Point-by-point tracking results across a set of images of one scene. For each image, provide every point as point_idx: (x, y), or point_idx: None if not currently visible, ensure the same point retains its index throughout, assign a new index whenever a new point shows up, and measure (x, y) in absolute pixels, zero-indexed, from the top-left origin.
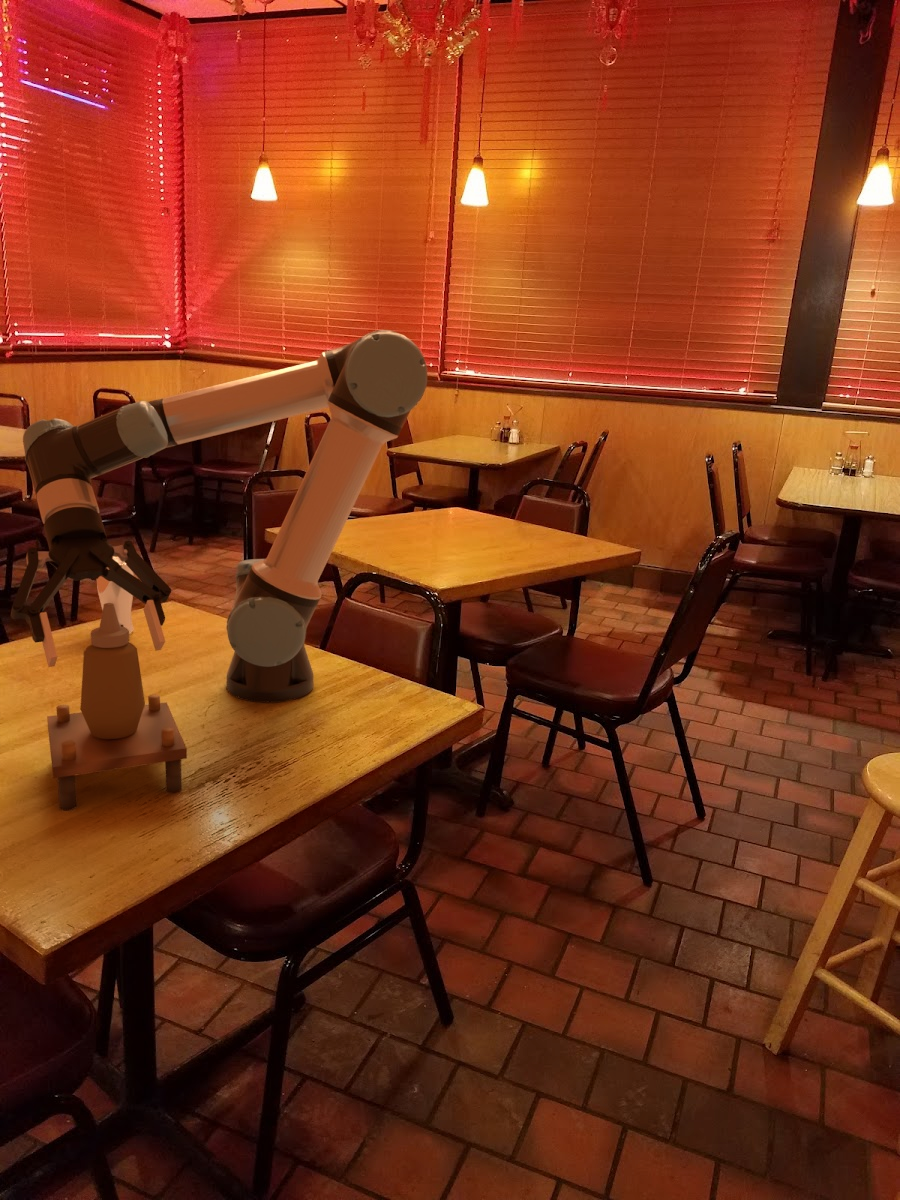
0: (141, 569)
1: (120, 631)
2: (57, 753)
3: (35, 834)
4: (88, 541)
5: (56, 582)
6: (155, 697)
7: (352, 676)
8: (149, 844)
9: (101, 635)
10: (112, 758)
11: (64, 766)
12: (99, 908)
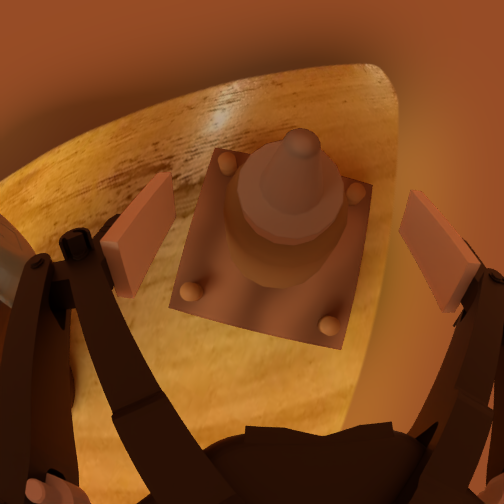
0: (35, 364)
1: (268, 160)
2: (361, 218)
3: (375, 180)
4: None
5: (472, 363)
6: (189, 285)
7: None
8: (292, 112)
9: (325, 157)
10: None
11: (360, 181)
12: (346, 72)
